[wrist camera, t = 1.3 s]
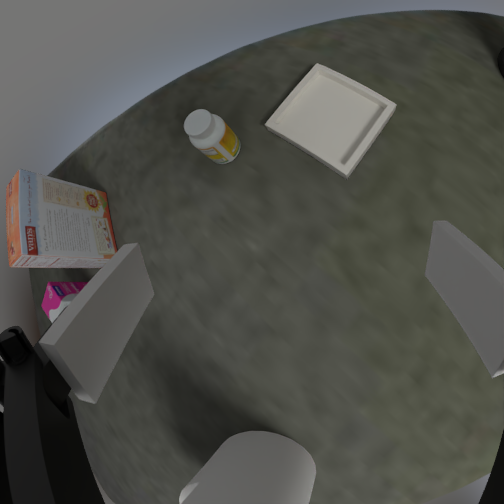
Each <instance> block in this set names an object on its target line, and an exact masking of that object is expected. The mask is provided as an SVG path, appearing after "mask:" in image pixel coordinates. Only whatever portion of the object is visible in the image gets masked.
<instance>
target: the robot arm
mask: <svg viewBox="0 0 504 504" xmlns="http://www.w3.org/2000/svg"><path fill="white" fill-rule="evenodd" d="M498 65H499V68H500V71H501V73H502V75H503V77H504V48H503V49H502V51H501V52H500V54H499V56H498ZM425 276H426V277H427V279H428V280H429V281H430V283H431V284H432V285H433V287H434V288H435V289H436V291H437V292H438V293H439V295H440V296H441V298H442V299H443V300H444V302H445V303H446V305H447V306H448V307H449V309H450V310H451V312H452V313H453V315H454V316H455V318H456V319H457V321H458V322H459V324H460V325H461V327H462V328H463V330H464V331H465V333H466V334H467V336H468V338H469V339H470V341H471V342H472V344H473V346H474V347H475V349H476V351H477V352H478V354H479V356H480V357H481V359H482V361H483V363H484V364H485V366H486V368H487V370H488V371H489V373H490V375H491V377H492V378H494V377H496V376H498V375H501V374H503V373H504V269H503V268H502V267H501V266H500V265H498V264H497V263H496V262H495V261H494V260H493V259H492V258H491V257H490V256H489V255H488V254H486V253H485V252H484V251H483V250H482V249H481V248H480V247H478V246H477V245H476V244H475V243H474V242H473V241H471V240H470V239H469V238H468V237H467V236H465V235H464V234H463V233H462V232H460V231H459V230H458V229H457V228H455V227H454V226H453V225H452V224H450V223H449V222H448V221H433V229H432V236H431V243H430V249H429V255H428V260H427V266H426V271H425ZM153 296H154V291H153V288H152V285H151V282H150V279H149V276H148V273H147V270H146V267H145V263H144V260H143V257H142V254H141V250H140V247H139V243H133V244H124V245H123V246H122V247H121V248H120V249H119V250H118V251H117V252H116V253H115V254H114V256H113V257H112V258H111V259H110V260H109V261H108V262H107V263H106V264H105V265H104V266H103V267H102V268H101V269H100V270H99V271H98V272H97V274H96V275H95V276H94V277H93V278H92V279H91V280H90V281H89V282H88V283H87V285H86V286H85V287H84V288H83V289H82V290H81V291H80V292H79V294H78V295H77V296H76V297H75V298H74V299H73V300H72V302H71V303H70V304H69V305H68V306H66V307H65V308H64V309H63V311H62V312H61V313H60V314H59V315H58V318H56V319H55V320H54V322H53V324H51V325H50V326H49V328H48V329H47V330H46V331H45V333H44V334H43V335H42V337H41V338H40V339H39V341H38V342H37V343H36V344H35V346H34V347H32V345H31V344H30V342H29V340H28V339H27V337H26V335H25V334H24V332H23V330H22V329H21V328H20V327H19V326H13V327H10V328H8V329H6V330H5V331H3V332H2V333H1V334H0V356H1V357H2V359H3V360H4V361H1V359H0V404H1V405H2V406H3V407H4V412H3V413H2V412H0V504H105V502H104V500H103V498H102V495H101V493H100V491H99V488H98V486H97V483H96V480H95V478H94V475H93V472H92V470H91V467H90V464H89V461H88V458H87V455H86V452H85V449H84V445H83V442H82V439H81V435H80V431H79V428H78V424H77V420H76V416H75V412H74V407H73V403H72V401H71V398H70V397H69V396H68V394H69V392H70V390H71V389H72V391H73V392H74V393H75V394H76V396H77V397H78V398H79V399H80V400H83V401H87V402H91V403H95V404H96V402H97V400H98V398H99V396H100V394H101V392H102V390H103V388H104V386H105V384H106V382H107V380H108V378H109V376H110V374H111V372H112V370H113V368H114V366H115V364H116V362H117V361H118V359H119V357H120V355H121V353H122V351H123V349H124V347H125V346H126V344H127V342H128V340H129V338H130V336H131V335H132V333H133V331H134V329H135V327H136V325H137V324H138V322H139V320H140V318H141V317H142V315H143V313H144V311H145V310H146V308H147V306H148V304H149V303H150V301H151V299H152V297H153ZM479 504H504V430H503V434H502V438H501V442H500V446H499V449H498V452H497V456H496V459H495V462H494V465H493V468H492V471H491V474H490V477H489V479H488V482H487V485H486V487H485V490H484V492H483V494H482V497H481V499H480V502H479Z"/></svg>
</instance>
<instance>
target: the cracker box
mask: <svg viewBox="0 0 504 504" xmlns="http://www.w3.org/2000/svg"><path fill="white" fill-rule="evenodd" d="M6 218H7V219H6V221H7V243H8V256H9V265H10V267H32V268H102V267H103V266H104V265H105V264H106V263H107V262H108V261H109V260H110V259H111V258H112V257H113V256H114V254H115V253H116V252H117V247H116V243H115V238H114V233H113V229H112V223H111V218H110V213H109V207H108V201H107V195H106V192H102V191H99V190H95V189H92V188H88V187H85V186H81V185H78V184H74V183H71V182H67V181H63V180H60V179H56V178H52V177H49V176H45V175H41V174H37V173H34V172H30V171H26V170H23V169H19V170H18V172H17V173H16V175H15V176H14V177H13V179H12V180H11V182H10V183H9V184H8V186H7V196H6Z"/></svg>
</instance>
